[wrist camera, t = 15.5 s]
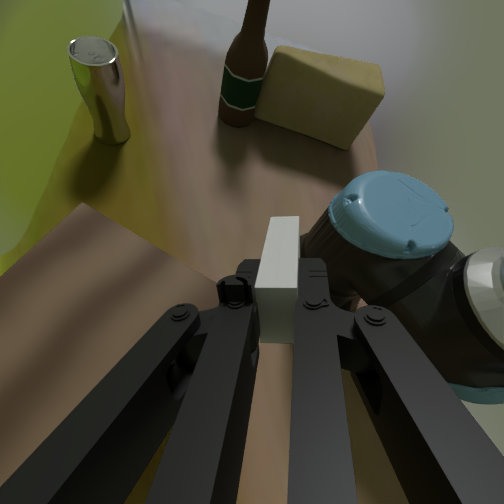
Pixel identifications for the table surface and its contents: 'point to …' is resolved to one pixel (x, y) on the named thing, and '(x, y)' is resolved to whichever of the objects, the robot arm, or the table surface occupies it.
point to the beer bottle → (245, 67)
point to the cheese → (319, 94)
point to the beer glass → (100, 86)
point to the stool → (78, 320)
